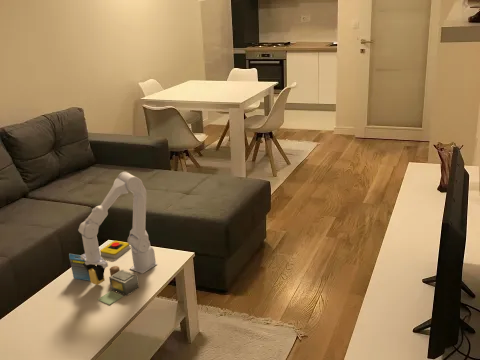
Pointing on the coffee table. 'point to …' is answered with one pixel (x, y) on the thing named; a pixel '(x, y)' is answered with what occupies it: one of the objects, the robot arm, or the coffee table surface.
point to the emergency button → (114, 250)
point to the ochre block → (94, 277)
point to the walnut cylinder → (114, 270)
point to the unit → (124, 282)
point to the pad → (110, 297)
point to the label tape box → (78, 267)
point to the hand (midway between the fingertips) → (97, 278)
